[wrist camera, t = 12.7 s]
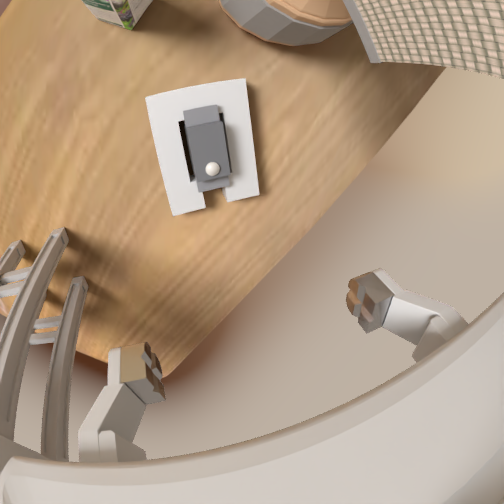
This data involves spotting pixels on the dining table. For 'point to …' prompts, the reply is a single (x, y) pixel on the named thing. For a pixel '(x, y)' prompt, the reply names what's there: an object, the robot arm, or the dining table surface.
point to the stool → (22, 336)
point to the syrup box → (118, 11)
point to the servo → (207, 147)
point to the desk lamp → (387, 28)
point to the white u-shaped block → (236, 136)
